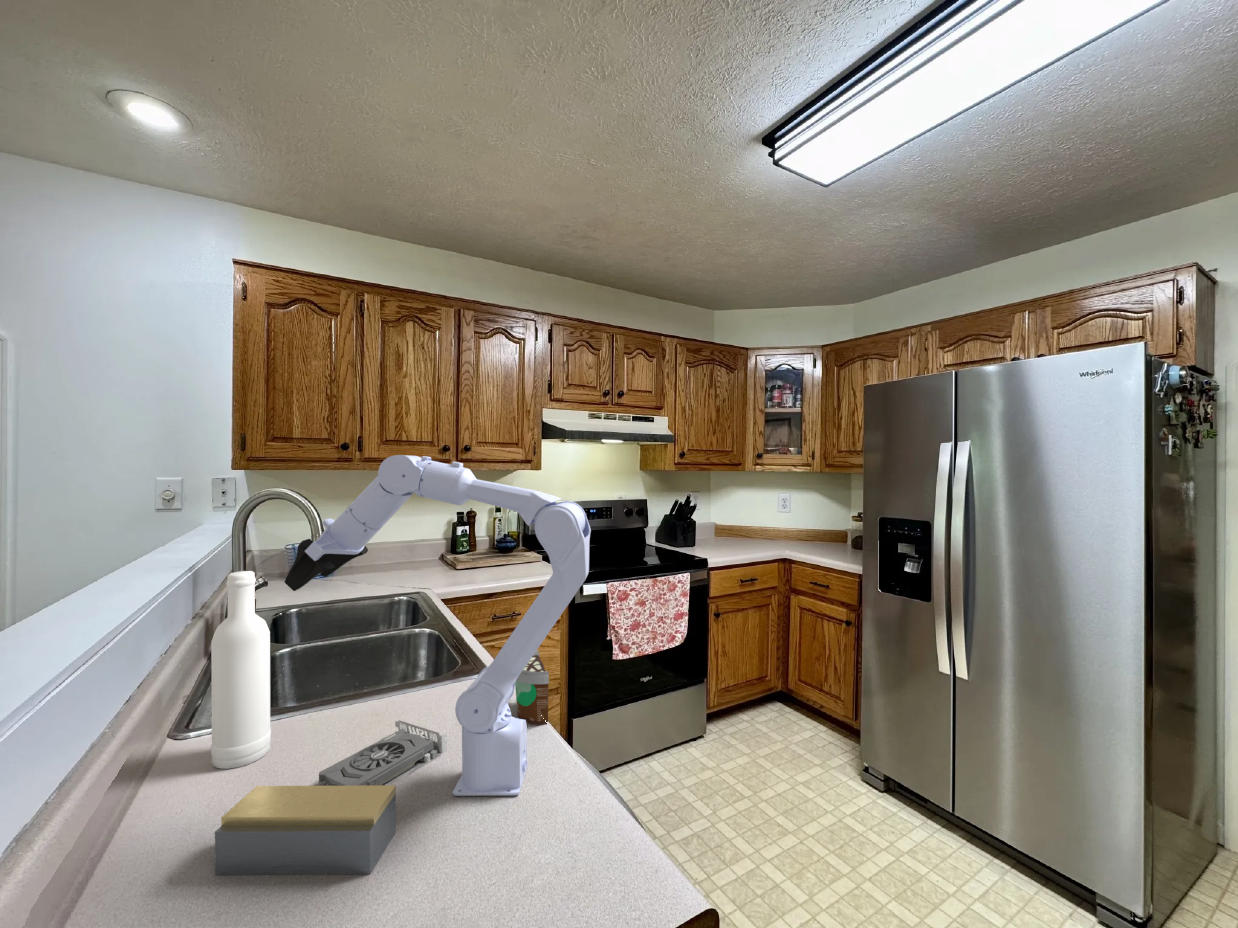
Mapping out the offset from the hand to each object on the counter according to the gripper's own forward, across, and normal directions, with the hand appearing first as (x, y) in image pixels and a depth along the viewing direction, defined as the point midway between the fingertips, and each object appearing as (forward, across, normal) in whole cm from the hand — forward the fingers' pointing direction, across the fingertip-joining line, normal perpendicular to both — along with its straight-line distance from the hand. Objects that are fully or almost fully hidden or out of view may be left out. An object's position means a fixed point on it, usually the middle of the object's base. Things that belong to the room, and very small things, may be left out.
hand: (306, 578), depth 81 cm
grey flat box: (+13, +18, +28) cm, 36 cm away
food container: (+1, -18, +44) cm, 47 cm away
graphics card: (+15, 0, +29) cm, 32 cm away
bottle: (+31, -3, +12) cm, 34 cm away
